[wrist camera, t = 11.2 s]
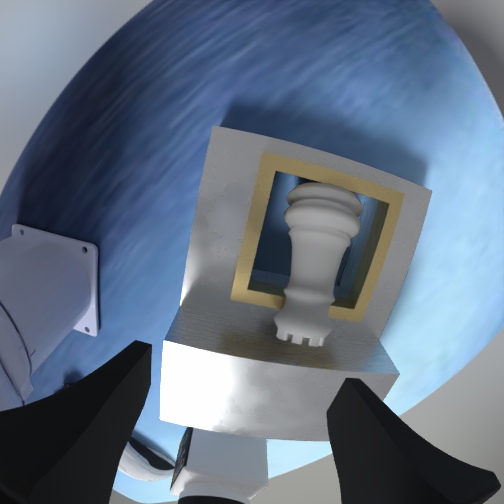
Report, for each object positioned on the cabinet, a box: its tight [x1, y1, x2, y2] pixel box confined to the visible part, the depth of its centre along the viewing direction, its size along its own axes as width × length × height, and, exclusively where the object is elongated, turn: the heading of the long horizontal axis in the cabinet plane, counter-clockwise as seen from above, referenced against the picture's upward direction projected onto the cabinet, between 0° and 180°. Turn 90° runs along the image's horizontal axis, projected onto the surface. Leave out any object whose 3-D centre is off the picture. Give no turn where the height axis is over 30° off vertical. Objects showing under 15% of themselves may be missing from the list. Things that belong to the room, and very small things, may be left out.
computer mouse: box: [59, 383, 175, 481], centre depth 24 cm, size 10×18×4 cm, turn 43°
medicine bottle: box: [170, 426, 268, 504], centre depth 19 cm, size 7×7×12 cm
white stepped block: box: [160, 126, 432, 441], centre depth 17 cm, size 14×18×6 cm
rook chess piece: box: [273, 182, 364, 347], centre depth 15 cm, size 4×4×8 cm
